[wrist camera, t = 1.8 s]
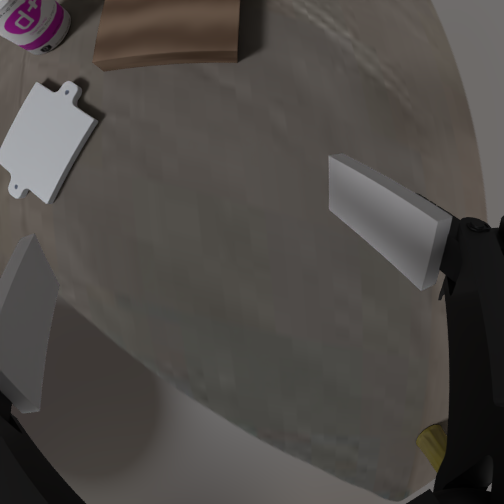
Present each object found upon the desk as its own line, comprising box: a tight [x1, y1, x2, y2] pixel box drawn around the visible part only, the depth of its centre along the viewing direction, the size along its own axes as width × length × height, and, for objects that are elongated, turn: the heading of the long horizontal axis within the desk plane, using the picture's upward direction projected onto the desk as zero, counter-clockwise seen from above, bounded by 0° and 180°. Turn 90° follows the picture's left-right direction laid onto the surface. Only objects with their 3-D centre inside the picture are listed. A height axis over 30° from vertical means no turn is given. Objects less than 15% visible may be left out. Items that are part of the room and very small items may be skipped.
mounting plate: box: [0, 81, 99, 204], centre depth 36 cm, size 18×13×2 cm
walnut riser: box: [92, 0, 241, 71], centre depth 32 cm, size 18×18×4 cm
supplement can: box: [0, 0, 71, 55], centre depth 25 cm, size 8×8×15 cm
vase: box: [416, 425, 447, 472], centre depth 43 cm, size 6×6×14 cm
